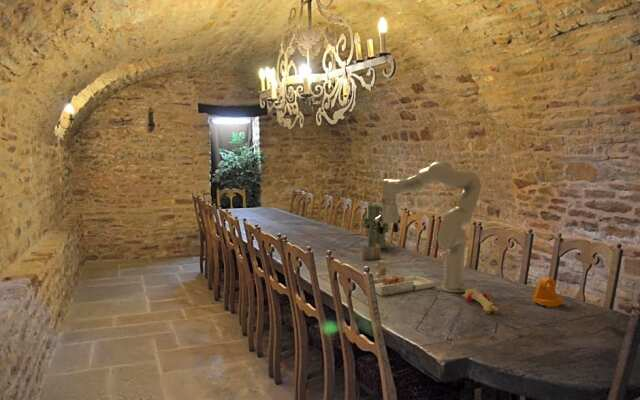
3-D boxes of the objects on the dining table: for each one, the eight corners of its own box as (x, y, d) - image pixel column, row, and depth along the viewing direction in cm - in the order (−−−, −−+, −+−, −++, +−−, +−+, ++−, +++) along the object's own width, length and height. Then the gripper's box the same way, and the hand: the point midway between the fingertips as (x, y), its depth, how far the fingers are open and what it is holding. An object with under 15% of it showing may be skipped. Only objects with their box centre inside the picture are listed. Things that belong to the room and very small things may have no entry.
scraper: (388, 283, 266) (389, 262, 265) (384, 283, 265) (384, 263, 264) (379, 279, 273) (379, 259, 272) (375, 280, 272) (375, 260, 271)
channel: (413, 289, 254) (413, 281, 253) (381, 296, 243) (381, 286, 243) (396, 283, 265) (396, 275, 264) (365, 289, 255) (365, 280, 254)
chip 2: (404, 282, 256) (404, 276, 255) (397, 284, 253) (397, 278, 253) (398, 280, 260) (398, 274, 259) (391, 281, 257) (391, 276, 257)
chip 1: (395, 284, 253) (395, 278, 253) (388, 285, 251) (388, 279, 250) (390, 282, 257) (390, 276, 256) (383, 283, 255) (383, 277, 254)
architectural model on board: (377, 258, 326) (378, 243, 325) (380, 259, 323) (380, 244, 322) (362, 259, 321) (362, 244, 320) (364, 260, 319) (365, 245, 318)
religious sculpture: (363, 244, 368) (363, 203, 364) (377, 243, 371) (378, 203, 367) (375, 251, 345) (375, 207, 342) (390, 250, 348) (391, 207, 345)
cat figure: (503, 316, 219) (477, 294, 243) (504, 297, 217) (479, 277, 241) (481, 317, 217) (457, 295, 242) (482, 298, 216) (459, 278, 240)
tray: (434, 286, 259) (434, 281, 259) (415, 290, 253) (415, 285, 253) (415, 279, 272) (415, 275, 272) (396, 283, 266) (396, 278, 265)
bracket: (541, 307, 227) (543, 281, 226) (532, 302, 234) (533, 276, 233) (563, 306, 228) (565, 280, 227) (554, 301, 236) (555, 276, 234)
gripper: (379, 203, 267) (379, 235, 269) (405, 201, 275) (405, 232, 277) (371, 201, 273) (371, 233, 275) (397, 200, 282) (396, 230, 284)
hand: (388, 232), depth 276 cm, fingers open, 9 cm apart
